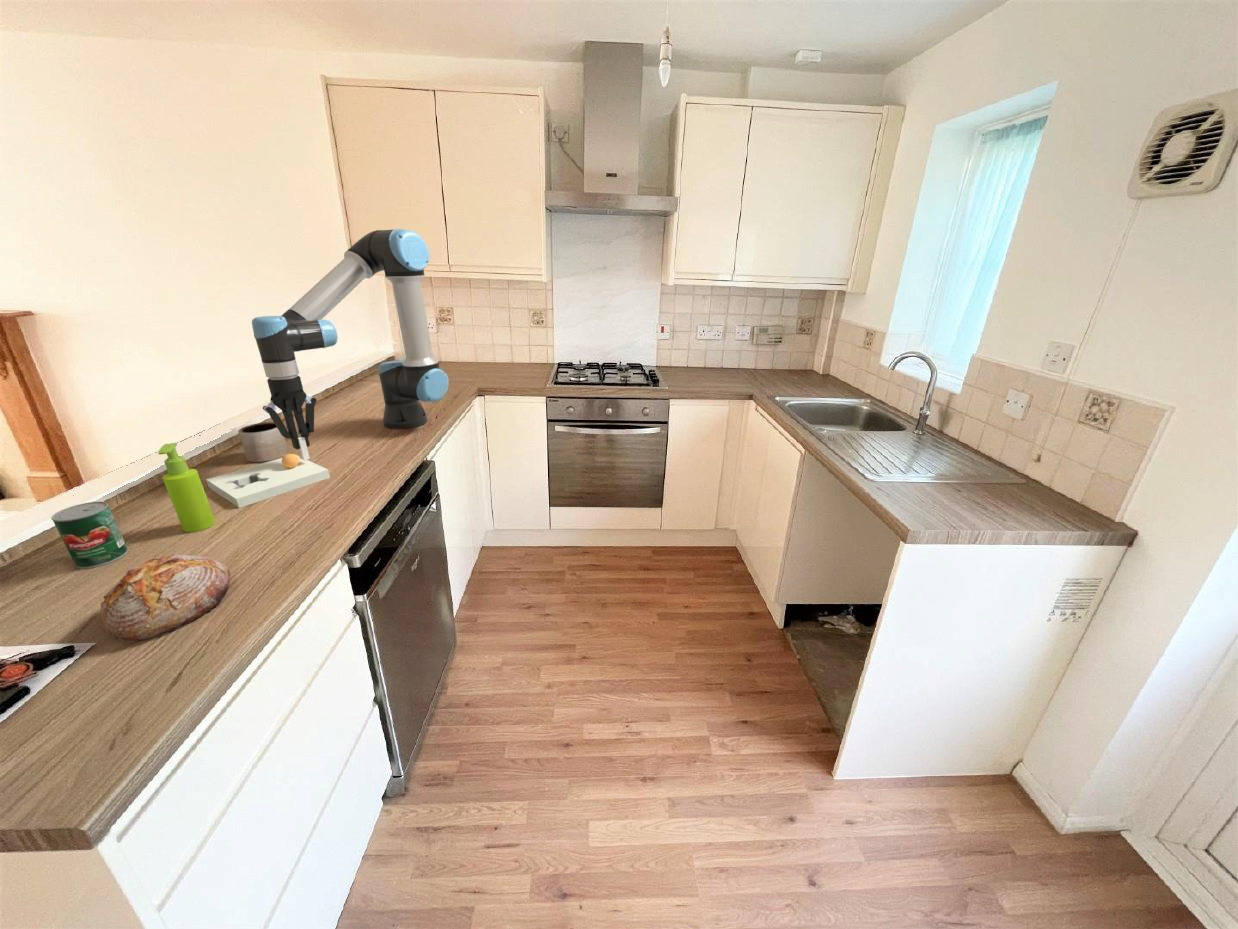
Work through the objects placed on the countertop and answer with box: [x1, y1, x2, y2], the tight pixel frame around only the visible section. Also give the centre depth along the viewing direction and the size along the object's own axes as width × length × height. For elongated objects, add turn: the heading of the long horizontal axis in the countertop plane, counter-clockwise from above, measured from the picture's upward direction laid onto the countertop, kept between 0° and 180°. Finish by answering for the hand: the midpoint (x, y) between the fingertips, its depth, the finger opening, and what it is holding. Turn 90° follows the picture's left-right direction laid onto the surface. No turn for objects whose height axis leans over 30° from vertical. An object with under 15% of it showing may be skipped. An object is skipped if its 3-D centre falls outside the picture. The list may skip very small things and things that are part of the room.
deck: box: [205, 454, 331, 509], centre depth 134 cm, size 22×20×2 cm
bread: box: [100, 553, 231, 642], centre depth 85 cm, size 16×20×10 cm
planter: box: [237, 421, 290, 464], centre depth 151 cm, size 11×11×10 cm
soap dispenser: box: [157, 442, 217, 533], centre depth 109 cm, size 6×7×20 cm
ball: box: [282, 453, 299, 468], centre depth 137 cm, size 4×4×4 cm
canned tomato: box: [50, 501, 129, 570], centre depth 99 cm, size 8×8×11 cm
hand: (304, 458), depth 140 cm, fingers closed
